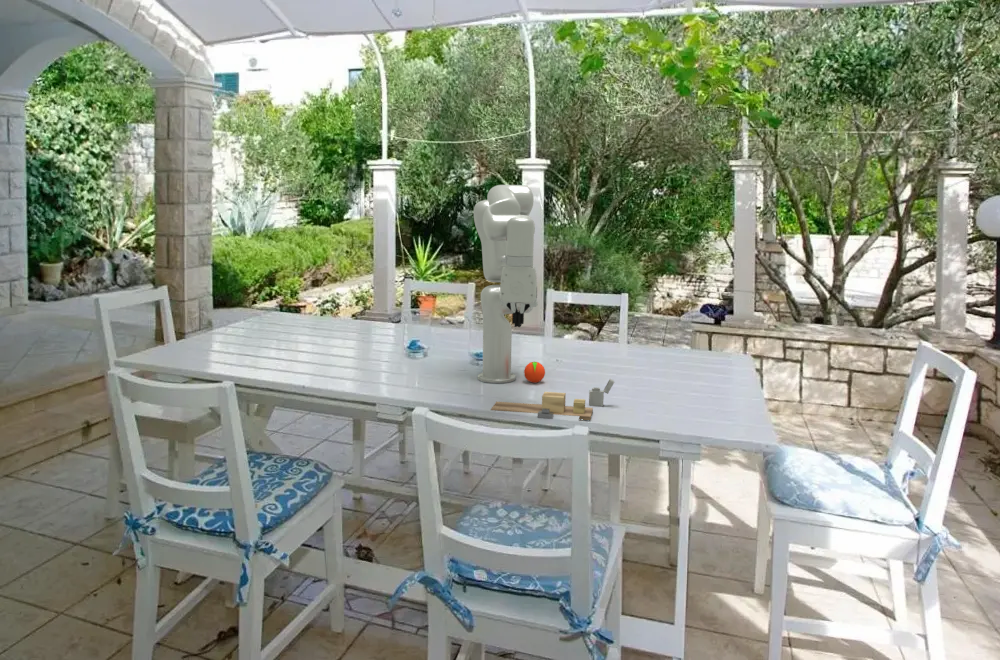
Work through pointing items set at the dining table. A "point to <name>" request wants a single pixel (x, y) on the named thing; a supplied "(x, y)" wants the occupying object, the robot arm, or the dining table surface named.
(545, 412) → the fulcrum marker
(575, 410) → the beam
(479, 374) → the robot arm
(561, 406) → the block
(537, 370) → the clementine
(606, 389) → the lighter
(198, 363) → the dining table surface
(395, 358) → the dining table surface
